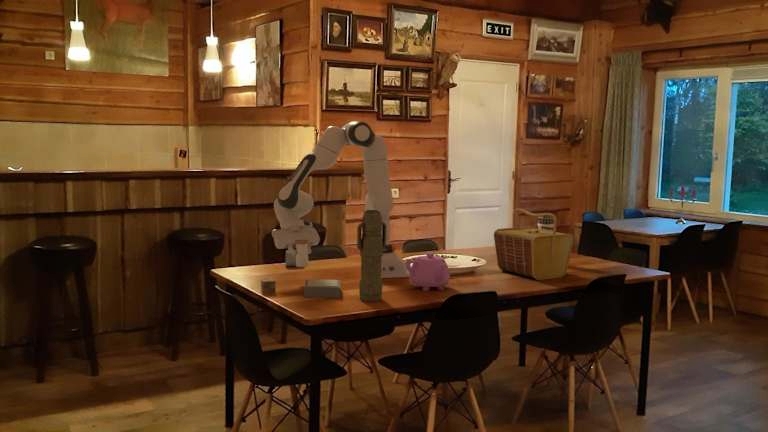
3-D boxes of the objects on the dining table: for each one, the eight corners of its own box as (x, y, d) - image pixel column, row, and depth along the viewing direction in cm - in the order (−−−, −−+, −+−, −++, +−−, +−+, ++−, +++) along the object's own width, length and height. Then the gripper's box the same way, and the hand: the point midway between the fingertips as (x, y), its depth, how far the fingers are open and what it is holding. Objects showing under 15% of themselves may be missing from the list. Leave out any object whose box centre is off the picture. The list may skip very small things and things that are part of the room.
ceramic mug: (302, 267, 346) (303, 251, 345) (285, 267, 344) (285, 251, 344) (301, 263, 356) (301, 248, 356) (284, 263, 355) (284, 248, 354)
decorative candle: (557, 263, 369) (559, 215, 366) (544, 265, 364) (546, 216, 361) (543, 260, 376) (545, 213, 374) (531, 262, 371) (533, 214, 368)
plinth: (340, 289, 299) (340, 279, 298) (339, 297, 285) (339, 286, 285) (306, 289, 298) (306, 279, 298) (304, 297, 284) (304, 286, 284)
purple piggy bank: (417, 295, 291) (418, 259, 289) (397, 285, 309) (397, 251, 307) (460, 292, 299) (461, 256, 297) (437, 282, 317) (438, 248, 315)
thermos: (351, 299, 283) (353, 210, 279) (376, 295, 290) (378, 208, 286) (363, 303, 276) (365, 212, 272) (389, 300, 282) (391, 211, 278)
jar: (308, 264, 313) (308, 239, 312) (308, 266, 308) (307, 241, 306) (296, 264, 313) (295, 239, 311) (295, 267, 307) (294, 241, 306)
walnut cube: (273, 290, 296) (273, 278, 295) (275, 293, 291) (275, 281, 290) (261, 291, 294) (261, 279, 293) (263, 293, 289) (263, 281, 289)
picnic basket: (574, 277, 335) (577, 213, 331) (532, 282, 322) (535, 215, 318) (530, 266, 360) (533, 206, 356) (490, 271, 346) (492, 208, 343)
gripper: (272, 225, 308) (282, 251, 301) (314, 222, 319) (325, 246, 312) (268, 234, 312) (278, 260, 305) (310, 230, 323) (321, 255, 316)
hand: (302, 253), depth 309 cm, fingers closed on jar, 5 cm apart
